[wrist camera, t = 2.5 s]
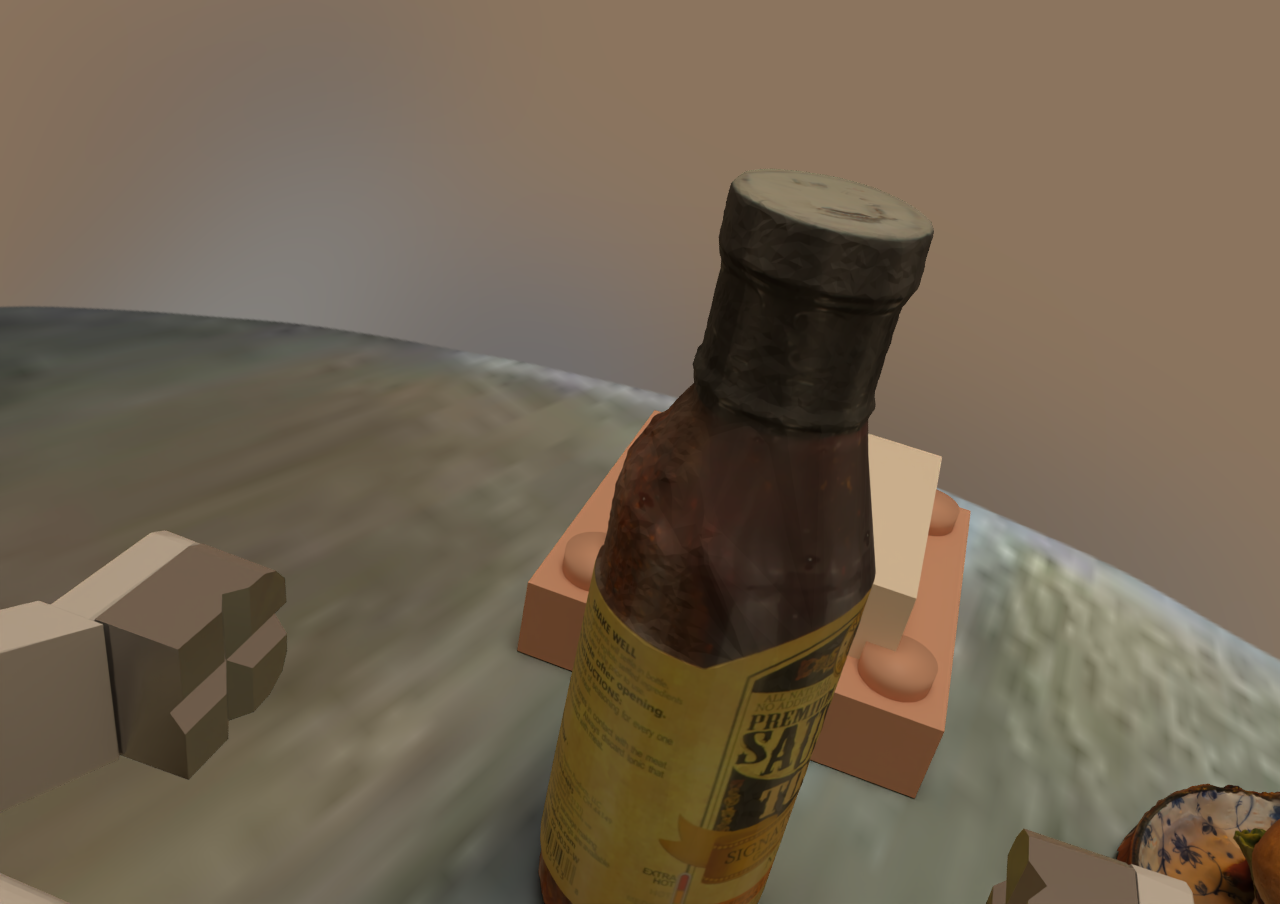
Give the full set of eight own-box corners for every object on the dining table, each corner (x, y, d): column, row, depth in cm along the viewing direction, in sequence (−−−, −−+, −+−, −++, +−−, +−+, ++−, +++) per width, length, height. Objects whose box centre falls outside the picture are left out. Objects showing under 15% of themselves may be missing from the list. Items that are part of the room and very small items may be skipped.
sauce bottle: (703, 1038, 27) (964, 306, 17) (487, 920, 29) (609, 191, 19) (783, 851, 33) (1018, 211, 22) (596, 762, 34) (737, 129, 24)
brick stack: (517, 650, 38) (539, 508, 35) (642, 467, 50) (667, 349, 47) (914, 798, 35) (976, 658, 32) (947, 568, 47) (995, 449, 44)
